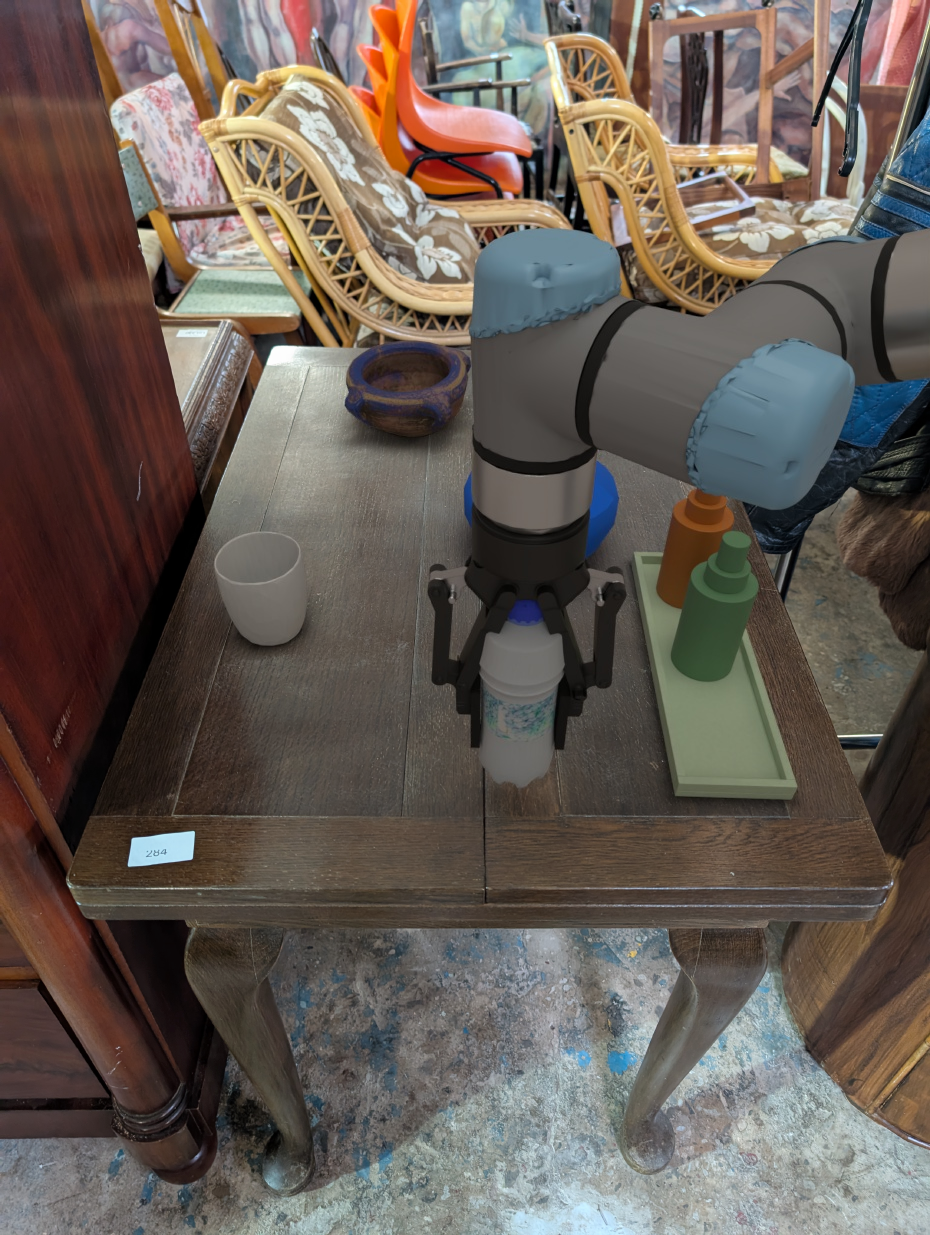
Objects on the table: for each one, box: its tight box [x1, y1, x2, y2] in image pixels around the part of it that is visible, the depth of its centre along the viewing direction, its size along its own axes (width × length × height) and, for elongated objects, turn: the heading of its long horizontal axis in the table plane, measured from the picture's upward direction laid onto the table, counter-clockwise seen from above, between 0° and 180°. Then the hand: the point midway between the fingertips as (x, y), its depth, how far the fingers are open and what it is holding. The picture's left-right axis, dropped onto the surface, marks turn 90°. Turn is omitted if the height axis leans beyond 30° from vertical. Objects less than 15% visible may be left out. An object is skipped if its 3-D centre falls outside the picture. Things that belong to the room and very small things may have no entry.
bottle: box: [477, 600, 565, 789], centre depth 61 cm, size 7×7×20 cm
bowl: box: [343, 339, 472, 438], centre depth 118 cm, size 18×18×10 cm
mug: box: [213, 531, 308, 647], centre depth 87 cm, size 13×9×10 cm
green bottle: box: [671, 530, 760, 682], centre depth 79 cm, size 6×6×16 cm
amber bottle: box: [656, 488, 735, 609], centre depth 87 cm, size 6×6×16 cm
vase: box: [463, 460, 620, 560], centre depth 93 cm, size 18×18×19 cm
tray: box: [630, 551, 798, 801], centre depth 84 cm, size 34×11×2 cm, turn 178°
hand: (516, 735), depth 65 cm, fingers closed on bottle, 6 cm apart
